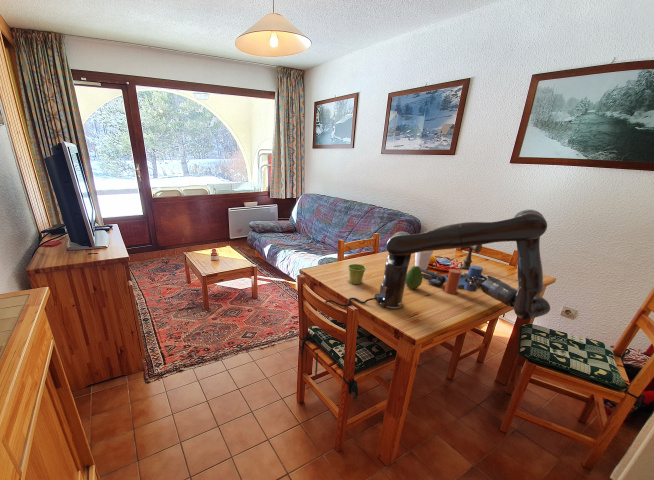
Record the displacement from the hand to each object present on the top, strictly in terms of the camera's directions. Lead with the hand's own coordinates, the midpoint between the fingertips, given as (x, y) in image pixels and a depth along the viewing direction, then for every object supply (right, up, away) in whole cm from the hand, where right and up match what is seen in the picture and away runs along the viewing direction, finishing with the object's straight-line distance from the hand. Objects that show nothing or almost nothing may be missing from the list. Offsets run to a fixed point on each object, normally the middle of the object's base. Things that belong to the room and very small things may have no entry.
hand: (469, 274), depth 144 cm
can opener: (-7, -3, +23) cm, 24 cm away
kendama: (+23, +5, +41) cm, 47 cm away
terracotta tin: (-4, -8, +10) cm, 13 cm away
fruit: (-21, -7, +14) cm, 26 cm away
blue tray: (+9, -4, +21) cm, 23 cm away
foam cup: (-4, +5, +41) cm, 41 cm away
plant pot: (-48, -4, +21) cm, 53 cm away
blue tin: (0, -7, 0) cm, 7 cm away
